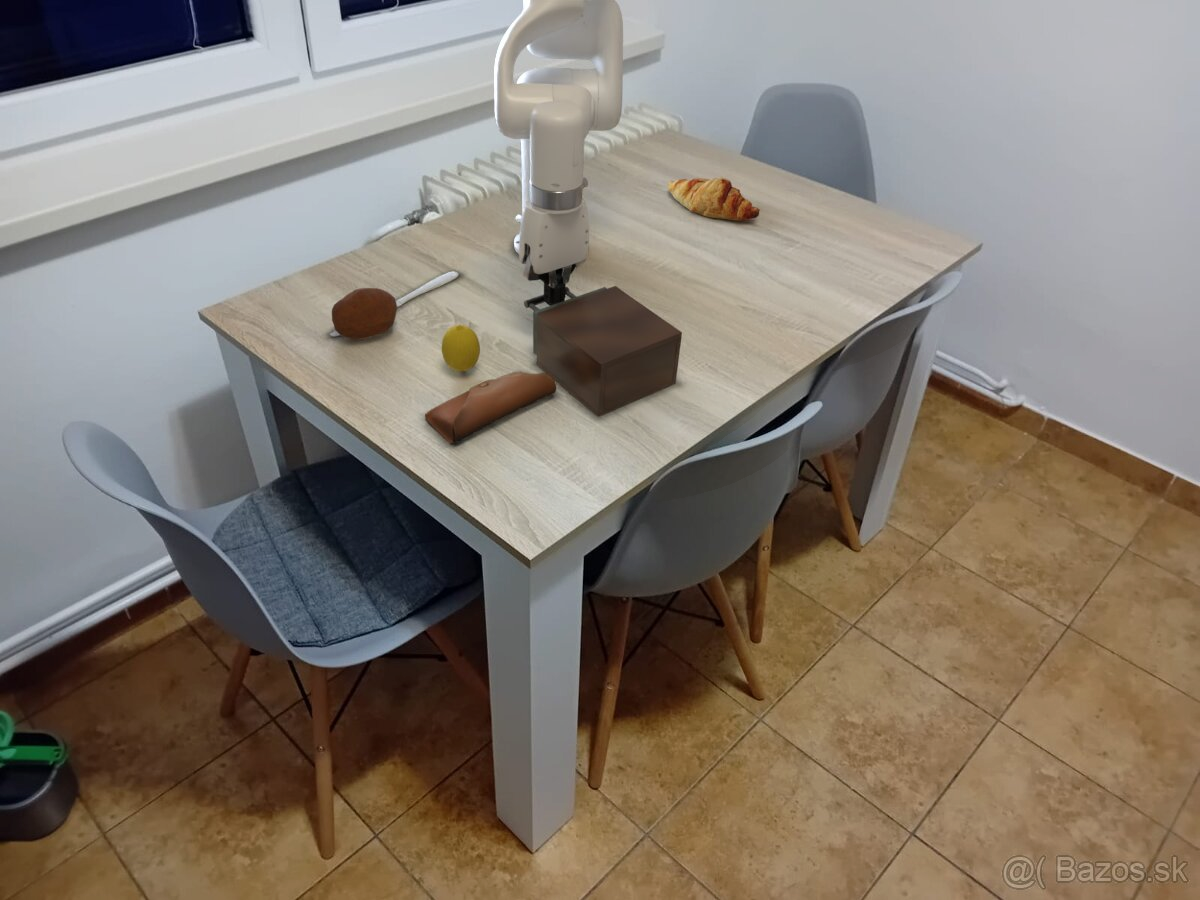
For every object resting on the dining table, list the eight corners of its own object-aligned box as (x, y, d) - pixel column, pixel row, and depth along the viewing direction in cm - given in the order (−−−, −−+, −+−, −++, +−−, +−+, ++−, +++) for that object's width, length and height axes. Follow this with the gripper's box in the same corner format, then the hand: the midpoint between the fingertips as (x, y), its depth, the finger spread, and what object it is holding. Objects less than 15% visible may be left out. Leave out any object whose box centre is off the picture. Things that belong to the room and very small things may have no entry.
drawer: (509, 332, 143) (508, 292, 138) (578, 308, 149) (579, 268, 145) (589, 400, 130) (591, 358, 126) (660, 370, 137) (665, 329, 132)
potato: (322, 334, 141) (315, 292, 137) (378, 309, 148) (373, 268, 143) (355, 357, 137) (349, 314, 132) (411, 330, 144) (407, 289, 139)
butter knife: (464, 275, 157) (452, 268, 158) (338, 340, 140) (325, 332, 142) (464, 278, 157) (452, 271, 158) (338, 343, 141) (326, 335, 142)
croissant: (658, 213, 187) (650, 186, 180) (683, 178, 190) (676, 150, 183) (748, 243, 178) (744, 216, 171) (773, 206, 180) (770, 177, 173)
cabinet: (536, 364, 138) (536, 313, 132) (612, 335, 145) (615, 285, 139) (598, 417, 129) (601, 364, 123) (675, 383, 136) (682, 332, 130)
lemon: (474, 384, 133) (472, 338, 128) (438, 378, 134) (434, 332, 129) (485, 363, 138) (483, 318, 132) (450, 358, 138) (447, 312, 133)
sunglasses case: (519, 368, 136) (534, 346, 131) (545, 406, 135) (561, 385, 130) (419, 416, 126) (430, 394, 121) (447, 457, 125) (459, 437, 120)
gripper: (582, 173, 136) (578, 281, 147) (497, 195, 128) (500, 308, 140) (613, 191, 131) (607, 301, 143) (527, 215, 124) (528, 330, 136)
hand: (554, 304), depth 142 cm, fingers closed
